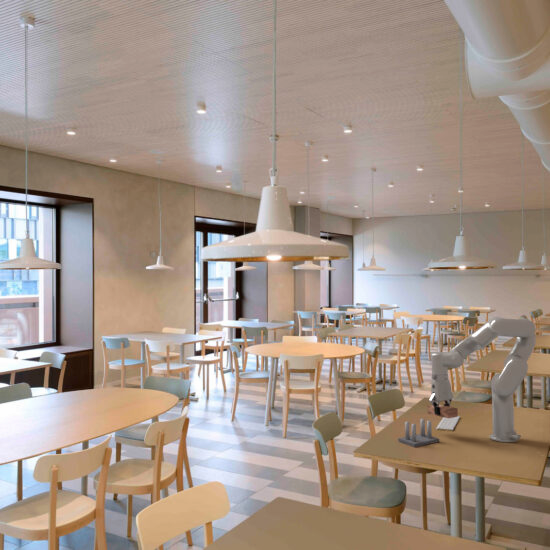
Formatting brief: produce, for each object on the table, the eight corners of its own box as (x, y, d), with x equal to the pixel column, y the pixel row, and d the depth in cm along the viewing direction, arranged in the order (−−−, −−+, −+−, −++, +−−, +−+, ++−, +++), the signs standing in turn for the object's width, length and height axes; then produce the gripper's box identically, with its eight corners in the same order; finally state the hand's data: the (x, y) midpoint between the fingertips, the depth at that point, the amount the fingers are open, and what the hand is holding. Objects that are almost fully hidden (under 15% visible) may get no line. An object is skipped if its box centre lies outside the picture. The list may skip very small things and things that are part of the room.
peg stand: (439, 441, 262) (438, 421, 262) (414, 447, 254) (413, 426, 254) (422, 436, 272) (422, 417, 272) (398, 441, 264) (397, 421, 264)
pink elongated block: (457, 416, 267) (457, 408, 267) (449, 418, 264) (448, 410, 264) (436, 411, 279) (435, 403, 279) (427, 413, 276) (427, 405, 276)
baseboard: (432, 430, 284) (452, 432, 280) (432, 425, 284) (452, 427, 280) (441, 416, 311) (460, 418, 307) (441, 412, 312) (460, 413, 307)
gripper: (433, 380, 265) (435, 417, 264) (458, 375, 273) (460, 412, 273) (421, 378, 271) (424, 415, 271) (446, 374, 280) (448, 409, 279)
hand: (442, 413), depth 272 cm, fingers closed on pink elongated block, 6 cm apart
